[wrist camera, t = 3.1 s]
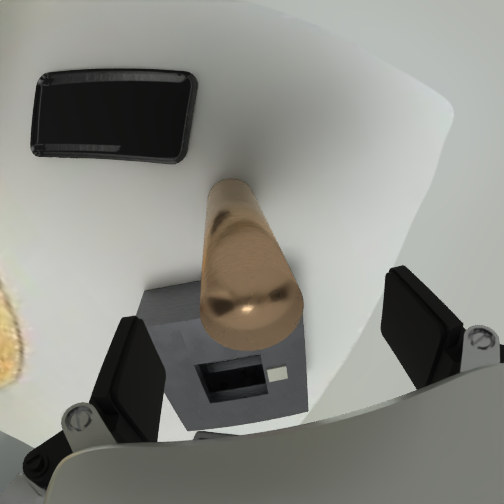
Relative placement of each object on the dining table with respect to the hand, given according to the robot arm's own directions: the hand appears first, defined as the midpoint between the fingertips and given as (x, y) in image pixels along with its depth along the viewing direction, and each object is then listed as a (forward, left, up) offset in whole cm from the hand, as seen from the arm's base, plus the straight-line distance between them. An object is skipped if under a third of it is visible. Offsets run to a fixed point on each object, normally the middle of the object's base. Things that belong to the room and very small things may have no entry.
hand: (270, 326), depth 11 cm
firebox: (+15, -4, -17) cm, 23 cm away
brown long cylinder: (0, -1, -17) cm, 17 cm away
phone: (-10, -10, -17) cm, 22 cm away
